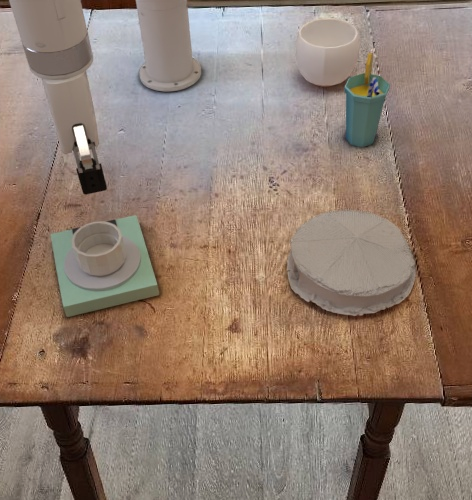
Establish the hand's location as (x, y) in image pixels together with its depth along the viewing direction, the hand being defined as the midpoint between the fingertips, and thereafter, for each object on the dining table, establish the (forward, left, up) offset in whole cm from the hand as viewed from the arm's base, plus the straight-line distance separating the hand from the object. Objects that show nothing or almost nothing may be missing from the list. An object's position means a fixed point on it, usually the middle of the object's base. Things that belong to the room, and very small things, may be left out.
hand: (89, 168), depth 92 cm
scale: (+1, -2, -18) cm, 18 cm away
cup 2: (-16, +48, -18) cm, 54 cm away
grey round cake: (+13, +34, -18) cm, 41 cm away
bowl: (+2, -2, -15) cm, 15 cm away
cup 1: (-37, +49, -18) cm, 64 cm away
